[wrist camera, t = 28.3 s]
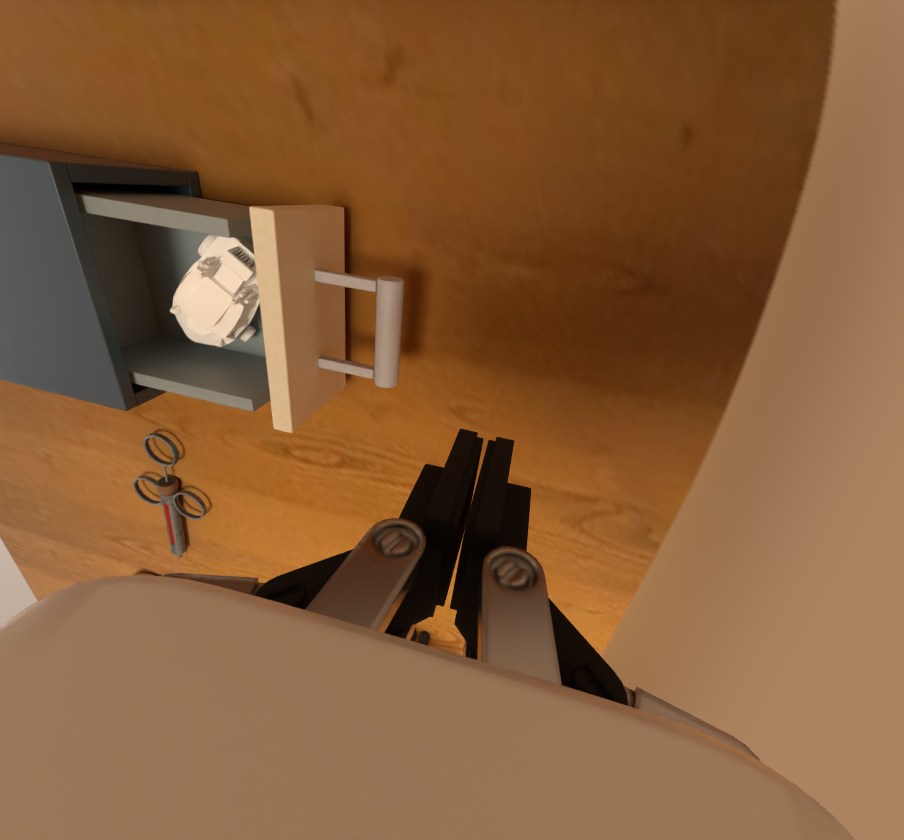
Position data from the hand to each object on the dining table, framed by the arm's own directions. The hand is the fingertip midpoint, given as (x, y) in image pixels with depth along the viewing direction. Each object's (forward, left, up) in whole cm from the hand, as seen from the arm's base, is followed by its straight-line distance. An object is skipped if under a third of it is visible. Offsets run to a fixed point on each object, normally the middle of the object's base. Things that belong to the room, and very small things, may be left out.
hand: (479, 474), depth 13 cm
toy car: (+11, -13, -13) cm, 22 cm away
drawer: (+11, -12, -14) cm, 21 cm away
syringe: (+37, -7, -15) cm, 41 cm away
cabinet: (+19, -22, -15) cm, 33 cm away
